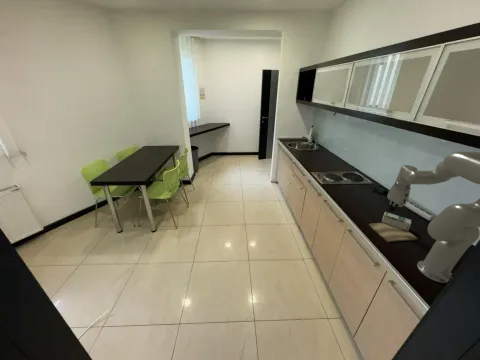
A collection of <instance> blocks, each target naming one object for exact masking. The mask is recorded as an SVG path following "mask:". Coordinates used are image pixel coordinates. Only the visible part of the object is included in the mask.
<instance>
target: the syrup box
mask: <svg viewBox="0 0 480 360" xmlns="http://www.w3.org/2000/svg"><path fill="white" fill-rule="evenodd" d="M381 223H386V224H389V225H392V226H395V227H398V228H401V229H404V230H407V231H409V229H410V228H411V226H412V225H411V224H412V219H409V218H406V217H403V216H400V215H396V214H393V213H391V212H388V211H387V212H386V211H384V214H383V216H382V220H381Z"/></svg>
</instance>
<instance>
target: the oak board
mask: <svg viewBox="0 0 480 360" xmlns="http://www.w3.org/2000/svg"><path fill="white" fill-rule="evenodd" d="M368 226H369V227H371V228H372V230H373V231H375V232H376V233H377V234H378V235H379V236H380V237H381V238H383V240H385V241H386V242H387V243H391V242H403V241H417V240H418V237H417V236H415V235H414V234H413V233H411V232H410V231H409V230H408V231H407V230H404V229H401V228H398V227H395V226H392V225H389V224H386V223H383V222H377V223H376V222H375V223H374V222H373V223H369V224H368Z"/></svg>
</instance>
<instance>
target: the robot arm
mask: <svg viewBox="0 0 480 360" xmlns="http://www.w3.org/2000/svg"><path fill="white" fill-rule="evenodd" d="M458 177H460V178H462V179H465V180H467V181H469V182H471V183H474V184H477V185H480V151H455V152H452V153H449V154H447V155H446V156H445V158H444V159H443V161H440V162H439V163H437V164H436V167H435V169H434V170H418V168H417V167H416V166H414V165H409V164H407V165H406V164H404V165H402V166H401V167H400V170H399V172H398V174H397V177H396V179H395V180H394V181H395V182H394V183H393V185H392V186H391V187H390V189H389V190H388V193H387V195H386V196H387V197H386V199H388V201H389V207H388V209H387V210H388V211H389V212H395V211H396V209H397V207H399V208H403V207H404V205H406V204H407V203H408V201H409V197H410V193H411V189H412V188H411V185H430V186H431V185H437V184H440V183H444V182H448V181H449V180H451V179H453V178H458ZM479 228H480V198H478V199H477V200H475V201H473V202H472V203H455V204H451V205H449V206H447V207H445V208H444V209H443V210H441V212H440V213H438V214H437V215H436V216H435V217H434V218H432V219H431V221H430V222H429V223H428V226H427V233H428V235H429V236H430V237H431V238H432V239H434V240H436V241H435V242H434V243H433V244H432V247H431V248H430V250H429V252H428V254H427V255H426V256H425V258H424V260H419V261H418V262H417V264H416V266H417V269H418V270H419V271H420V272H421V274H422V275H423V276H425V277H426V278H428V279H430V280H432V281H435V282H437V283H441V284H448V283H447V282H448V281H449V280H450V278H452V276H453V273H452V272H451V271H453V269H454V267H455V266H456V265H457V263H458V262H459V260H460V259H461V257H462V256H463V255H464V254H465V252H467V249H469V248H470V247H471V246H472V245H473V244H475V243H476V241H477V240H478V239H479V237H480V229H479Z"/></svg>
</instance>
